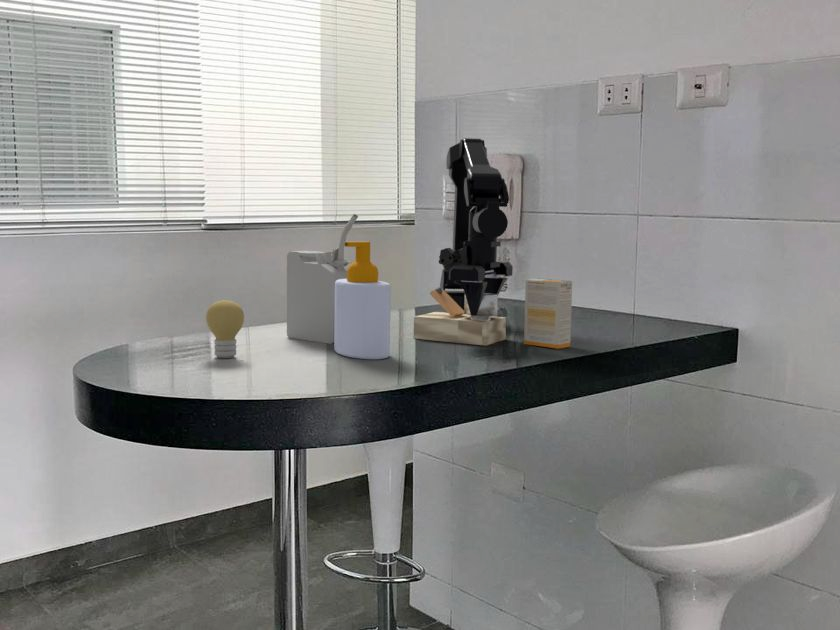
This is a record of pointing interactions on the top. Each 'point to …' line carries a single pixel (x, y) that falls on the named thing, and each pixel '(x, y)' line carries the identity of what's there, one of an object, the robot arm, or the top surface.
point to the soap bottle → (362, 309)
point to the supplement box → (548, 312)
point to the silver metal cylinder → (484, 307)
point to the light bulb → (225, 326)
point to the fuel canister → (314, 291)
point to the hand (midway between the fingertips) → (480, 313)
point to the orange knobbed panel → (447, 302)
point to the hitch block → (459, 328)
